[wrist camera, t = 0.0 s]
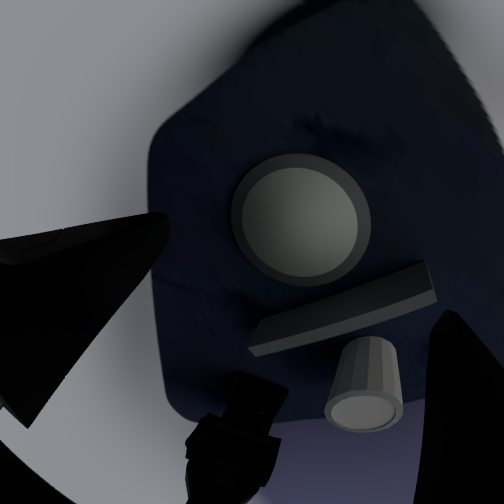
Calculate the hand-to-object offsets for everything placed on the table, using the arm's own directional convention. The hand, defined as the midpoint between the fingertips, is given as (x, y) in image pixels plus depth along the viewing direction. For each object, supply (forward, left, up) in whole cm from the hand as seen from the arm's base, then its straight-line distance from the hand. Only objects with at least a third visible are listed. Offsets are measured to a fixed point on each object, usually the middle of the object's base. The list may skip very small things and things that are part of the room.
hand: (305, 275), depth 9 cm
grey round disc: (-5, +1, -15) cm, 16 cm away
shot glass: (-16, -9, -15) cm, 24 cm away
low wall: (-11, -4, -15) cm, 19 cm away
